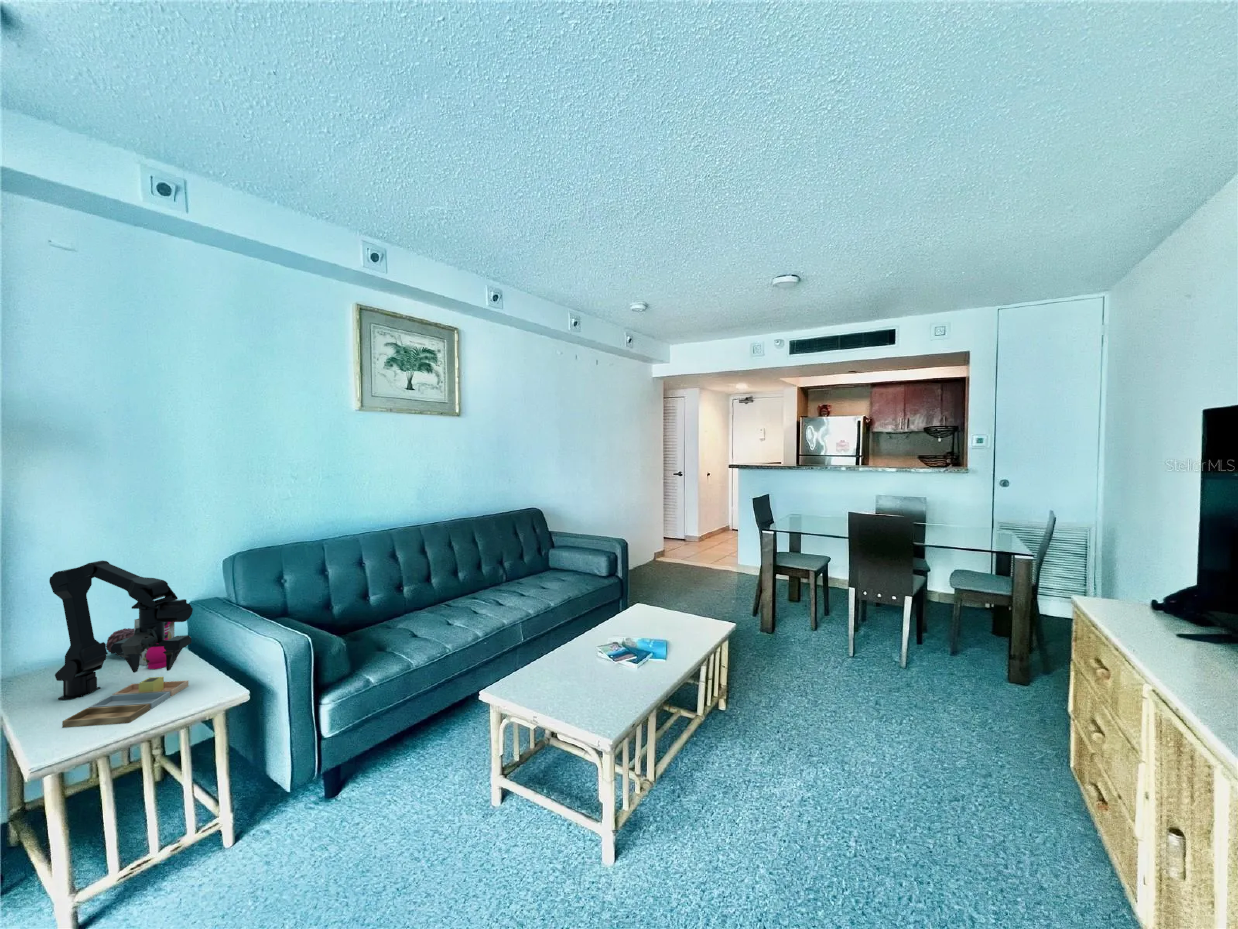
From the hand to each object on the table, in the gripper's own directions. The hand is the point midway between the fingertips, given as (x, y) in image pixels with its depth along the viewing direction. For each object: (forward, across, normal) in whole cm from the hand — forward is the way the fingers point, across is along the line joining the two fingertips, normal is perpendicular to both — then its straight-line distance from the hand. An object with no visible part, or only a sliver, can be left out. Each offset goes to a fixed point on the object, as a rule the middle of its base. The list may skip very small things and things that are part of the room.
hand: (152, 671), depth 149 cm
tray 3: (+7, 0, 0) cm, 7 cm away
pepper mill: (+7, -14, +23) cm, 28 cm away
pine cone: (+7, -34, +35) cm, 50 cm away
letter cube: (+7, 0, 0) cm, 7 cm away
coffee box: (+7, -20, +29) cm, 36 cm away
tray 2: (+7, 0, -8) cm, 10 cm away
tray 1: (+7, 0, -15) cm, 17 cm away
